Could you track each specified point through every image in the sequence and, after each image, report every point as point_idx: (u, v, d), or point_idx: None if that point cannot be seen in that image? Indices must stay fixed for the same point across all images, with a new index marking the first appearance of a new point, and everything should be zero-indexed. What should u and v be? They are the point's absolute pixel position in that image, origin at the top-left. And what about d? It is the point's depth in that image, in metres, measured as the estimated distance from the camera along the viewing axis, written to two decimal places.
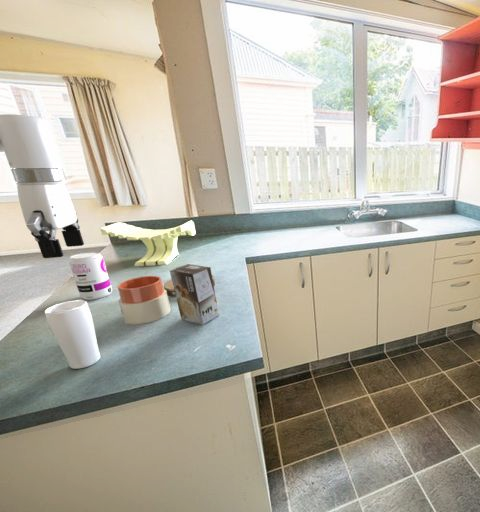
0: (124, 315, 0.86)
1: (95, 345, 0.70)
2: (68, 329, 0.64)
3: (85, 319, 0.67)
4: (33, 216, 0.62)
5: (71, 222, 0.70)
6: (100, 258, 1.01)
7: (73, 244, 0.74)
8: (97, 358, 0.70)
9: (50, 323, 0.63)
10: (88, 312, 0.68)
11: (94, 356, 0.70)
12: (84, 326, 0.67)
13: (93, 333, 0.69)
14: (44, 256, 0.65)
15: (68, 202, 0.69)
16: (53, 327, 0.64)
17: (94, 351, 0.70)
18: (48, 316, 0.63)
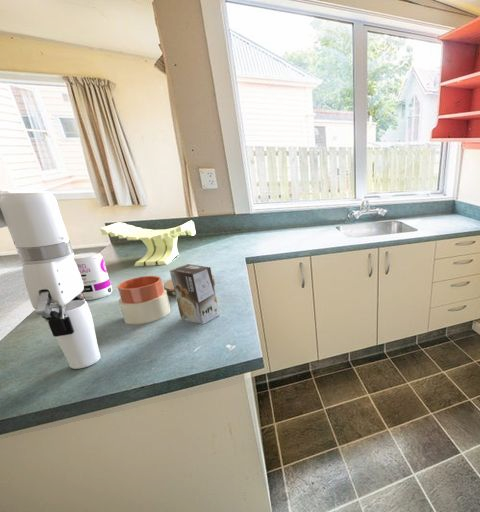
0: (124, 315, 0.86)
1: (95, 345, 0.70)
2: None
3: (85, 319, 0.67)
4: (41, 299, 0.59)
5: (78, 293, 0.67)
6: (100, 258, 1.01)
7: None
8: (97, 358, 0.70)
9: None
10: (88, 312, 0.68)
11: (94, 356, 0.70)
12: (84, 326, 0.67)
13: (93, 333, 0.69)
14: (54, 335, 0.63)
15: (75, 273, 0.66)
16: None
17: (94, 351, 0.70)
18: None
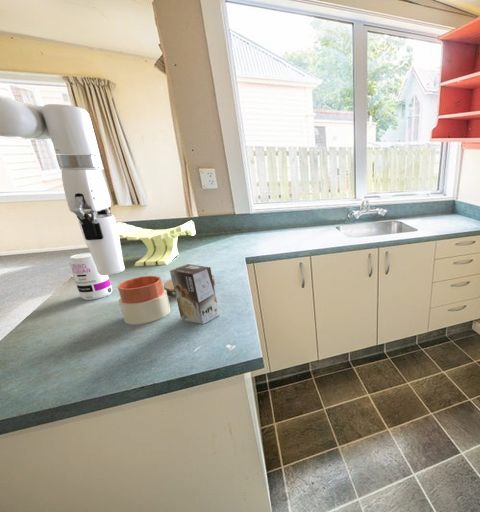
0: (124, 315, 0.86)
1: (121, 256, 0.78)
2: None
3: (112, 229, 0.75)
4: (77, 201, 0.67)
5: (106, 206, 0.75)
6: None
7: None
8: (122, 268, 0.79)
9: None
10: (115, 224, 0.76)
11: (119, 266, 0.78)
12: (112, 235, 0.75)
13: (119, 244, 0.77)
14: (86, 238, 0.71)
15: (104, 187, 0.75)
16: None
17: (119, 261, 0.78)
18: None
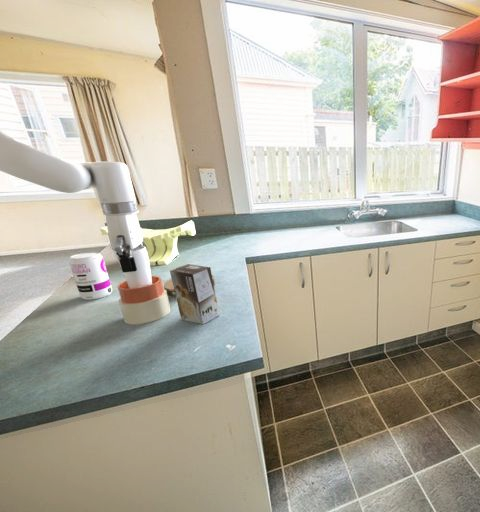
0: (124, 315, 0.86)
1: (151, 282, 0.90)
2: None
3: (145, 259, 0.86)
4: (118, 240, 0.79)
5: (140, 242, 0.87)
6: (100, 258, 1.01)
7: None
8: None
9: None
10: (147, 254, 0.87)
11: None
12: (144, 264, 0.86)
13: (150, 272, 0.89)
14: (123, 271, 0.82)
15: (138, 226, 0.86)
16: None
17: None
18: None
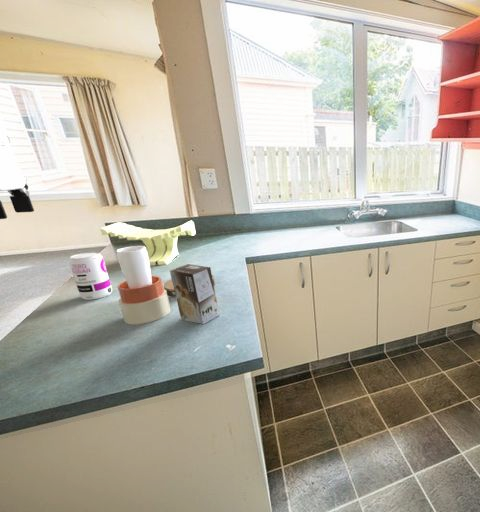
0: (124, 315, 0.86)
1: (151, 282, 0.90)
2: (134, 265, 0.84)
3: (145, 259, 0.86)
4: None
5: (17, 186, 0.70)
6: (100, 258, 1.01)
7: (22, 210, 0.74)
8: None
9: (121, 260, 0.83)
10: (147, 254, 0.87)
11: None
12: (144, 264, 0.86)
13: (150, 272, 0.89)
14: None
15: (14, 166, 0.69)
16: (123, 263, 0.83)
17: None
18: (120, 254, 0.83)
